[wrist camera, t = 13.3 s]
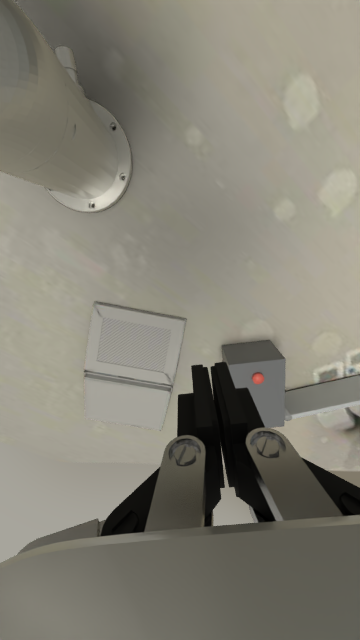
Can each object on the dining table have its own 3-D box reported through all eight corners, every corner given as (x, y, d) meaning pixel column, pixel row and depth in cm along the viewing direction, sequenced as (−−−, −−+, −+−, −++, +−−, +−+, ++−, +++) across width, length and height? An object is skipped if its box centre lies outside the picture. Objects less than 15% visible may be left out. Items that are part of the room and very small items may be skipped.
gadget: (162, 425, 47) (161, 441, 44) (85, 413, 46) (77, 428, 43) (186, 317, 40) (187, 325, 36) (95, 300, 39) (86, 306, 35)
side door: (385, 368, 41) (414, 387, 36) (385, 376, 42) (414, 396, 37) (271, 394, 43) (283, 415, 38) (272, 401, 44) (285, 423, 39)
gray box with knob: (221, 345, 41) (229, 367, 34) (269, 340, 40) (287, 360, 33) (226, 412, 45) (234, 443, 38) (270, 408, 45) (285, 439, 38)
